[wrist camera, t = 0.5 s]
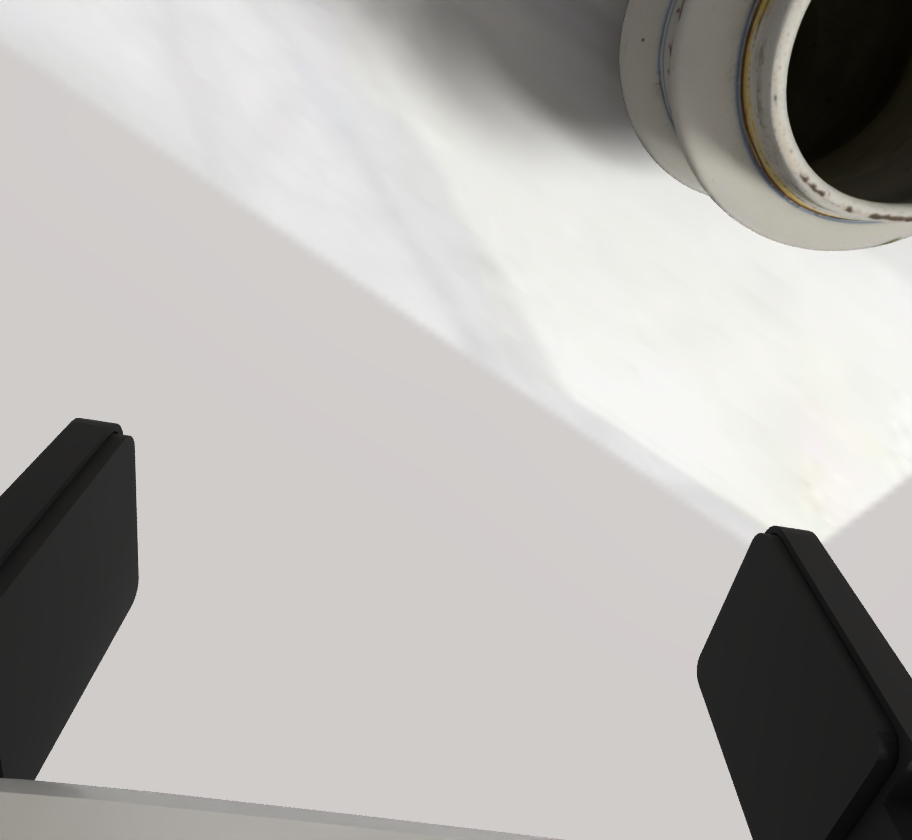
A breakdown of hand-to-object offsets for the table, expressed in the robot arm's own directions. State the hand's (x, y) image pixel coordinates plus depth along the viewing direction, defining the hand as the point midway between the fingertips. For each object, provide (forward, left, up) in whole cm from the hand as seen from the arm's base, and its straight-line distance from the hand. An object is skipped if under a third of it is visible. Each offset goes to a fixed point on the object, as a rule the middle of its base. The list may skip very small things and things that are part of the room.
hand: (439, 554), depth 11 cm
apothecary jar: (-10, +10, -30) cm, 33 cm away
